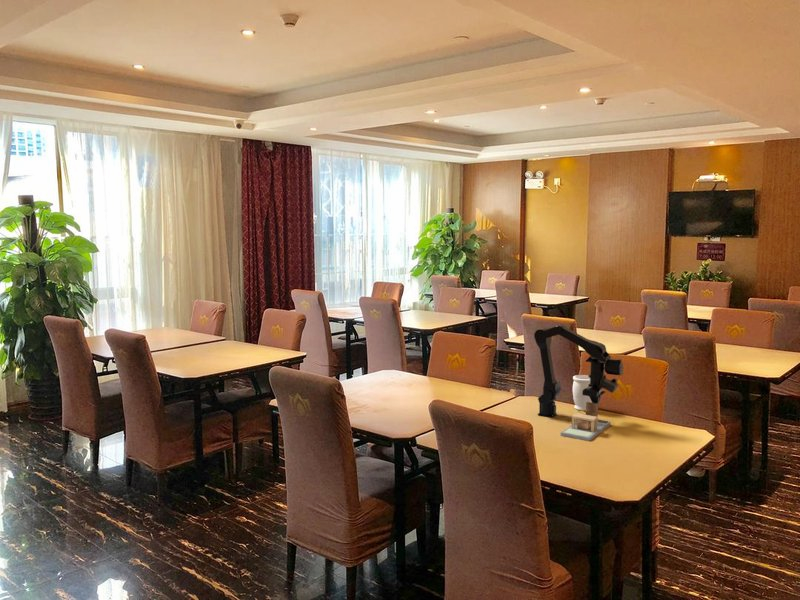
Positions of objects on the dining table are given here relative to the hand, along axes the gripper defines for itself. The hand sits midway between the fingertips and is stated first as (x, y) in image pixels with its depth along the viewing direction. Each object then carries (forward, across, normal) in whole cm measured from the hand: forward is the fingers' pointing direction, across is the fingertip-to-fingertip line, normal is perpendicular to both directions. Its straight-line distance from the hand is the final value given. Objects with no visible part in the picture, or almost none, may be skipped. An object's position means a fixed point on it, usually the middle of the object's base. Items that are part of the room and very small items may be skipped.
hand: (596, 407), depth 281 cm
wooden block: (+5, -10, 0) cm, 12 cm away
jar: (+7, +18, +12) cm, 23 cm away
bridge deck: (+7, -12, 0) cm, 14 cm away
